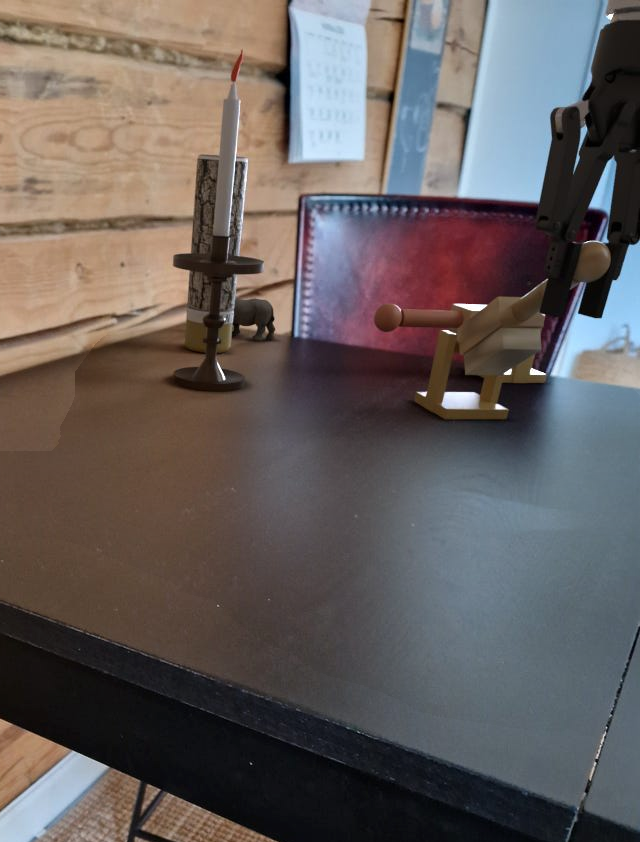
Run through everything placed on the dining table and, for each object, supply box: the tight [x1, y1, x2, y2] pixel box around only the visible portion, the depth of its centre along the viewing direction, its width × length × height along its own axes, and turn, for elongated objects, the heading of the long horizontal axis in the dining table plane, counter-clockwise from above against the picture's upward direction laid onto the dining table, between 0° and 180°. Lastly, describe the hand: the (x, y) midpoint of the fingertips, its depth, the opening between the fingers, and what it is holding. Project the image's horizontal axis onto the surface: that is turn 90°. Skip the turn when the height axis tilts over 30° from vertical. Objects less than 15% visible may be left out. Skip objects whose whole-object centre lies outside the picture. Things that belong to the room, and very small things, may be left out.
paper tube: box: [184, 153, 249, 354], centre depth 120 cm, size 7×7×25 cm
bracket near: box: [413, 329, 509, 420], centre depth 101 cm, size 8×8×9 cm
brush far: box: [373, 302, 488, 338], centre depth 117 cm, size 22×5×6 cm, turn 102°
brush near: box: [453, 240, 611, 376], centre depth 90 cm, size 22×5×6 cm
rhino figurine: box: [231, 296, 276, 342], centre depth 136 cm, size 4×14×6 cm, turn 68°
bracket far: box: [477, 314, 548, 384], centre depth 120 cm, size 8×8×9 cm
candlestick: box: [172, 49, 265, 392], centre depth 100 cm, size 11×11×35 cm
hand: (570, 315), depth 84 cm, fingers closed on brush near, 4 cm apart
